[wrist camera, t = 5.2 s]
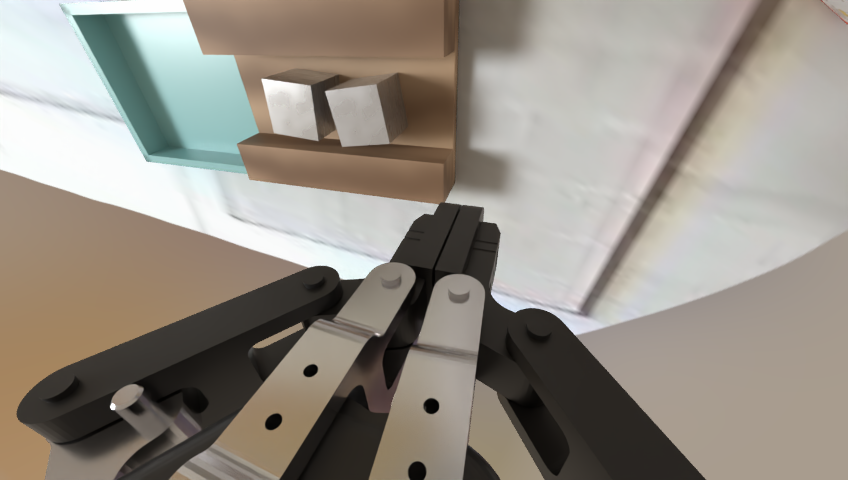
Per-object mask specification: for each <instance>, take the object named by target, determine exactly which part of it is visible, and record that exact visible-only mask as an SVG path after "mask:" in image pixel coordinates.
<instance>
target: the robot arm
mask: <svg viewBox="0 0 848 480" xmlns="http://www.w3.org/2000/svg"><path fill="white" fill-rule="evenodd" d="M483 216H484V208H483V207H475V206H467V205H459V204H451V203H443V202H441V203H440V204H439V206H438V208H437V209H436V211H435V213H434V215H429V214H424V215H422V216H421V217H419V218H418V219H416V220H415V221H414V222H413V224H412V226H411V227H410V229H409V231H408V232H407V234H406V236H405V239H403V241H402V242H401V244H400V245H399V247H398V249H397V250H396V252H395V254H394V255H393V257H392V259H391V260H390V262H389V263H385V264H382V265H379V266H377V267H376V268H374V269H373V270H372V271H371V272H370V273H369V274H368V276H367V277H366V278H364V279H353V280H340V278H339V274H338V272H337V271H336V270H335V269H333V268H331V267H328V266H314V267H310V268H307V269H305V270H302V271H300V272H297V273H295V274H292V275H290V276H288V277H285V278H283V279H280V280H278V281H275V282H273V283H271V284H268V285H266V286H263V287H261V288H258V289H256V290H253V291H251V292H248V293H246V294H244V295H241V296H239V297H236V298H233V299H231V300H229V301H226V302H224V303H221V304H219V305H216V306H214V307H211V308H209V309H206V310H204V311H201V312H199V313H197V314H194V315H192V316H189V317H187V318H184V319H182V320H179V321H177V322H175V323H172V324H169V325H167V326H164V327H162V328H160V329H157V330H155V331H152V332H150V333H147V334H145V335H142V336H140V337H138V338H135V339H133V340H130V341H128V342H125V343H123V344H120V345H118V346H115V347H113V348H111V349H108V350H105V351H103V352H100V353H98V354H96V355H93V356H91V357H88V358H86V359H84V360H81V361H79V362H76V363H74V364H71V365H68V366H66V367H64V368H62V369H60V370H58V371H56V372H54V373H52V374H51V375H49V376H48V377H46V378H45V379H43V380H42V381H40V382H39V383H38V384H37V385H36V386H34V387H33V388H32V389H31V390H30V391H29V392H28V393H27V395H26V396H25V397H24V398H23V400H22V401H21V403H20V404H19V407H18V409H17V418H18V420H20V422H22V423H23V424H25V425H26V426H28V427H29V428H31V429H33V430H34V431H36V432H37V433H39V434H41V435H42V436H43V437H45V438H46V440H47V441H48V442H49V443H50V445H51V451H50V456H49V461H48V466H47V471H46V476H45V480H500V478H499V476H498V475H497V474H496V472H495V471H494V470H493V468H492V467H491V466H490V464H488V462H487V461H486V460H485V459H484V458H483V457H482V456H481V455H480V454H479V453H477V452H476V451H475V450H474V449H473V448H472V447H470V446H469V445H468V442H469V432H470V424H471V415H472V407H473V406H472V405H473V398H474V390H475V381H476V379H477V380H479V381H481V382H482V383H484V384H485V385H487V386H489V387H490V388H492V389H493V390H495V391H497V395H498V399H499V401H500V403H501V404H502V406H503V408H504V410H505V411H506V413H507V415H508V417H509V418H510V420H511V422H512V424H513V425H514V427H515V429H516V430H517V432H518V434H519V436H520V438H521V439H522V441H523V443H524V444H525V446H526V448H527V450H528V451H529V453H530V455H531V457H532V458H533V460H534V462H535V464H536V465H537V467H538V469H539V470H540V472H541V474H542V476H543V478H544V479H545V480H706V479H705V478H704V477H703V476H702V475H701V474H700V473H699V472H698V470H697V469H696V468H695V467H694V466H693V465H692V464H691V463H690V462H689V461H688V459H687V458H686V457H685V456H684V455H683V454H682V453H681V452H680V451H679V450H678V448H677V447H676V446H675V445H674V444H673V443H672V442H671V441H670V440H669V438H668V437H667V436H666V435H665V434H664V433H663V432H662V431H661V430H660V429H659V427H658V426H657V425H656V424H655V423H654V422H653V421H652V420H651V419H650V418H649V416H648V415H647V414H646V413H645V412H644V411H643V410H642V409H641V408H640V407H639V406H638V404H637V403H636V402H635V401H634V400H633V399H632V398H631V397H630V396H629V395H628V393H627V392H626V391H625V390H624V389H623V388H622V387H621V386H620V385H619V383H618V382H617V381H616V380H615V379H614V378H613V377H612V376H611V375H610V374H609V372H608V371H607V370H606V369H605V368H604V367H603V366H602V365H601V364H600V363H599V361H598V360H597V359H596V358H595V357H594V356H593V355H592V354H591V353H590V352H589V351H588V349H587V348H586V347H585V346H584V345H583V344H582V343H581V342H580V341H579V339H578V338H577V337H576V336H575V335H574V334H573V333H572V332H571V331H570V330H569V328H568V327H567V326H566V325H565V324H564V323H563V322H562V321H561V320H560V319H559V318H558V317H556V316H555V315H553V314H552V313H550V312H547V311H545V310H541V309H536V308H528V309H523V310H520V311H517V312H516V313H514V312H512V311H510V310H508V309H506V308H504V307H502V306H501V305H500V304H498V303H497V302H496V301H495V300H494V298H493V297H492V295H491V290H492V285H493V280H494V276H495V271H496V265H497V257H498V249H499V242H500V234H501V233H500V231H499V229H498V227H497V224H494V223H487V222H483ZM300 322H301V323H302V325H303V329H301V330H299V331H297V332H296V333H293V334H291V335H289V336H287V337H285V338H283V339H281V340H279V341H277V342H274V343H273V344H271V345H268V346H266V347H264V348H253V347H252V346H253V345H255V344H256V343H258V342H260V341H262V340H264V339H266V338H268V337H270V336H273V335H275V334H277V333H279V332H281V331H283V330H285V329H287V328H289V327H292V326H294V325H296V324H298V323H300ZM420 332H421V333H420ZM419 334H420V336H419ZM394 395H395V397H394ZM393 397H394V400H393ZM392 400H393V403H392ZM391 404H392V406H391Z"/></svg>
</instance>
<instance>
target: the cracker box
mask: <svg viewBox="0 0 848 480" xmlns="http://www.w3.org/2000/svg"><path fill="white" fill-rule="evenodd" d="M821 1H822V2H823V3H824V4H826V5H827V6H828V7H829V8H830V9H831V10H832V11H833V12H834V13H835V14H837V15H838V16H839V17H840V18H841V19H842V20H843V21H844V22H845V23H846V24H848V0H821Z"/></svg>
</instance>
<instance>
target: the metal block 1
mask: <svg viewBox="0 0 848 480" xmlns="http://www.w3.org/2000/svg"><path fill="white" fill-rule="evenodd" d="M262 83H263V87H264V92H265V96H266V101H267V105H268V109H269V114H270V118H271V122H272V127H273V131H274V133H277V134H282V135H288V136H293V137H299V138H304V139H310V140H315V141H320V140H321V139H323V138H324V137H326V136H327V135H329V134H330V133H332V132H333V131H335V130H336V125H335V122H334V119H333V116H332V112H331V109H330V106H329V103H328V99H327V96H326V93H325V91H326V90H328V89H330V88H333V87H335V86H337V85H339V84H340V83H339V74H333V73H326V72H318V71H311V70H303V69H296V68H294V69H290V70H287V71H284V72H281V73H278V74H274V75H271V76H268V77H265V78H262Z"/></svg>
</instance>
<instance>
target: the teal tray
mask: <svg viewBox="0 0 848 480" xmlns="http://www.w3.org/2000/svg"><path fill="white" fill-rule="evenodd" d="M59 5H60V6H61V8H62V10H63V12H64V14H65V15H66V17H67V19H68V21H69V23H70V24H71V26H72V28H73V30H74V32H75V33H76V35H77V37H78V39H79V41H80V42H81V44H82V46H83V48H84V50H85V51H86V53H87V55H88V57H89V59H90V60H91V62H92V64H93V66H94V68H95V69H96V71H97V73H98V75H99V77H100V78H101V80H102V82H103V84H104V86H105V87H106V89H107V91H108V93H109V95H110V96H111V98H112V100H113V102H114V104H115V105H116V107H117V109H118V111H119V113H120V114H121V116H122V118H123V120H124V122H125V123H126V125H127V127H128V129H129V131H130V132H131V134H132V136H133V138H134V140H135V141H136V143H137V145H138V147H139V149H140V150H141V152H142V154H143V156H144V158H145V159H146V161H147V162H155V163H163V164H171V165H179V166H187V167H195V168H203V169H211V170H219V171H227V172H235V173H243V174H248V173H247V171H246V168H245V165H244V163H243V160H242V157H241V155H240V152H239V149H238V147H237V143H239V142H241V141H243V140H245V139H247V138H249V137H251V136H253V135H255V134H257V133H259V131H258V128H257V125H256V122H255V119H254V115H253V112H252V109H251V106H250V103H249V100H248V97H247V94H246V91H245V88H244V85H243V82H242V79H241V76H240V73H239V70H238V66H237V63H236V60H235V57H234V55H203V53H202V51H201V48H200V45H199V43H198V40H197V37H196V35H195V32H194V29H193V27H192V24H191V21H190V19H189V16H188V13H187V11H186V8H185V5H184V3H183V0H135V1H112V2H89V3H66V4H59Z"/></svg>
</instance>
